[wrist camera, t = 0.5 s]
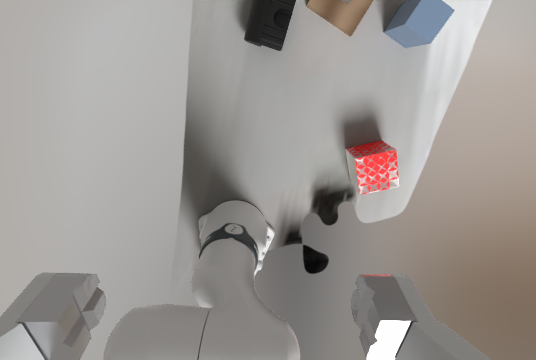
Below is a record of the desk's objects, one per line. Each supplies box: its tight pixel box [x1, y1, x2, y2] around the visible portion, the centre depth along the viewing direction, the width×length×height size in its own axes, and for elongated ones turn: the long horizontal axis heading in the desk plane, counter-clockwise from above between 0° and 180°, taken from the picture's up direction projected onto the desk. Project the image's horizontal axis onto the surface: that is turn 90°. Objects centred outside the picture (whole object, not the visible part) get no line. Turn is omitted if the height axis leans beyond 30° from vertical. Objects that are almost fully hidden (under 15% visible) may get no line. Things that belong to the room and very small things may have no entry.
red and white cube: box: [346, 140, 399, 195], centre depth 59 cm, size 8×8×8 cm
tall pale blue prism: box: [384, 0, 454, 48], centre depth 49 cm, size 5×5×10 cm
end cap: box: [244, 0, 296, 51], centre depth 50 cm, size 10×7×7 cm
